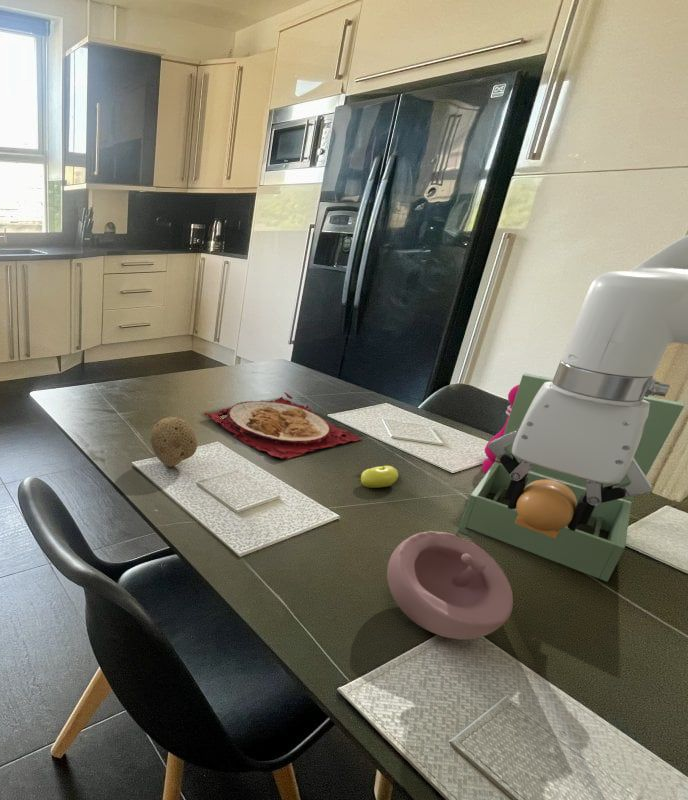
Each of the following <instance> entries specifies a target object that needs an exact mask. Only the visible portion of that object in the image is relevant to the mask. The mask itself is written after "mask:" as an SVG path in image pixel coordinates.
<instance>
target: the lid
mask: <svg viewBox="0 0 688 800" xmlns="http://www.w3.org/2000/svg"><path fill="white" fill-rule="evenodd" d="M553 379H554V377H548V376H542V375H537V374H532V373H526V372H524V373H523V374H522V376H521V379H520V382H519V384H520V385H519V384H518V385H519V388H518V391H517V394H516V397H515V400H514V404H513V407H512V410H511V413H510V416H509V419H508V422H507V425H506V428H505V432H504V435H506V434H508V433H510V432H512V431H515V430H517V429H519V428H520V426H521V424H522V421H523V419H524V417H525V415H526V413H527V411H528V409H529V407H530V405H531V403H532V401H533V399H534V398H535V396H536V394H537V393H538V391H539V390H540V388H541V387H542V385H543V384H544V383H545V382H553ZM643 400H646V401H648V402H649V403H650V407H649V413H648V418H647V421H646V425H645V428H644V431H643V434H642V437H641V440H640V442H639V445H638V448H637V450H636V452H635V455H634V459H635V460H636V462H637V464H638V465H639V467H640V468H641V470H642V471H643V473H644V474H645V476H646V477H647V475H649V471H650V470H651V468H652V466H653V465H654V463H655V461H656V459H657V457H658V455H659V454H660V452H661V450H662V448H663V446H664V444H665V442H666V441H667V439H668V437H669V435H670V433H671V431H672V429H673V428H674V426H675V424H676V422H677V420H678V419H679V416H680V415H681V413H682V411H683V410H684V407H685V406H686V404H685V402H680V401H675V400H669V399H663V398H660V397H659V398H658V397H654V396H648V397H645V396H644V398H643ZM512 446H513V444H511V445H509V446H507V447H506V448H507V449H508V450H509V452H510V453H511V454H512ZM514 457H515V456H514ZM515 458H516V459H517V461H518V462H520V461H521V460H520V459H518V458H517V457H515ZM496 461H500V459H499V458H498V457H496ZM529 472H532V473H536V474H539V475H543V476H546V477H549V478H553V479H556V480H559V481H563V482H566V483H570V484H573V485H576V486H580V487H583V488H586V479H582V478H579V477H575V476H572V475H568V474H565V473H562V472H558V471H555V470H551V469H548V468H545V467H541V466H538V465H535V466H534V467H533V468H532V469H531V470H530V471H529ZM628 482H630V480H629V479H628V477H627V476H626V474H625V476H624V478H623V479H622V480H621V481H620V482H619V483H617V484H624V483H628ZM611 485H615V484H603V487H607V486H611ZM635 497H636V495H635V496H627V497H623V498H622V499H624V500H627V501H630V502H632V501H634V499H635Z"/></svg>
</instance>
